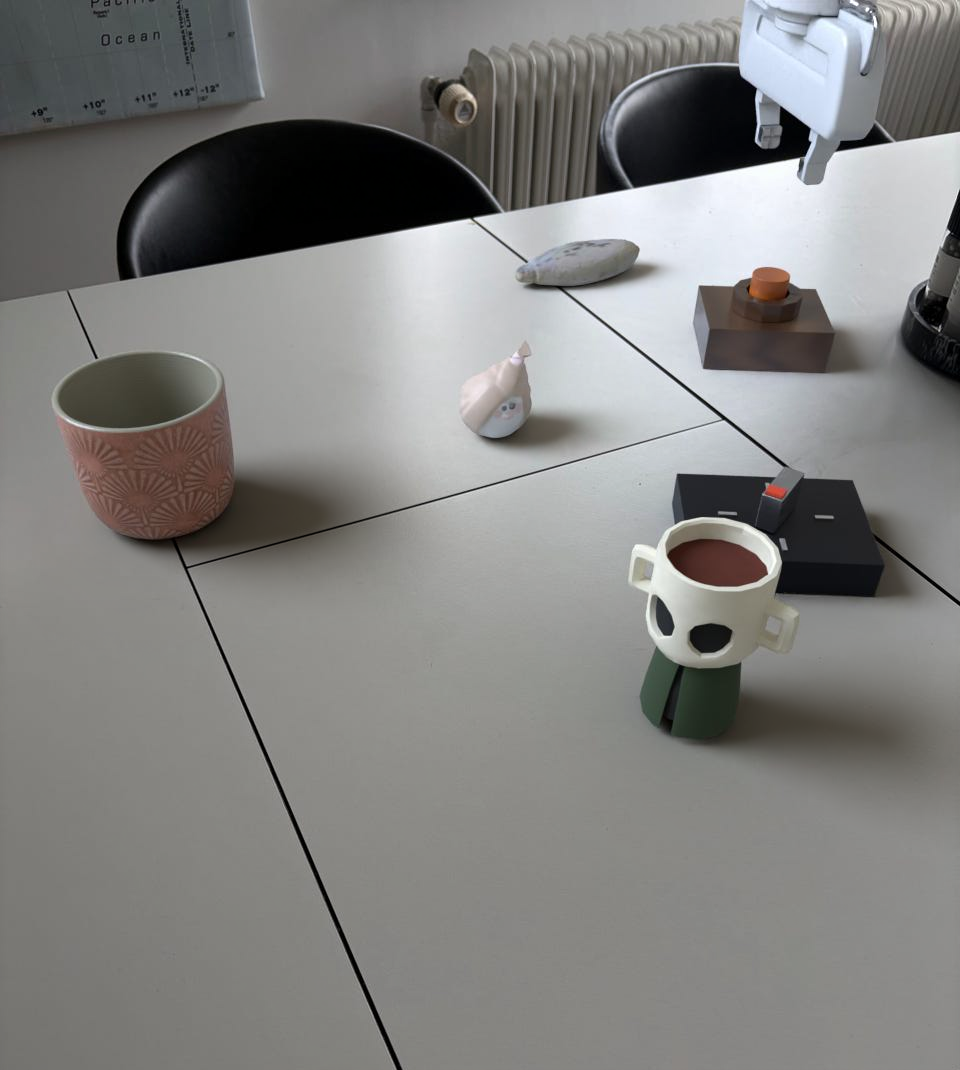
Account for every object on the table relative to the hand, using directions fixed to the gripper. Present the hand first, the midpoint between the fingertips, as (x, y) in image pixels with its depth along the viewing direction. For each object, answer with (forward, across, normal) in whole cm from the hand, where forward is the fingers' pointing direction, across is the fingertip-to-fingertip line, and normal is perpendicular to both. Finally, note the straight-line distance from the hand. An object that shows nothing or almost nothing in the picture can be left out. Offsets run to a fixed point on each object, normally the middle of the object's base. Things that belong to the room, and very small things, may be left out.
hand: (786, 163), depth 91 cm
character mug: (+19, -45, +22) cm, 53 cm away
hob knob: (+16, -29, +10) cm, 35 cm away
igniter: (+19, +3, -2) cm, 19 cm away
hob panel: (+19, -29, +10) cm, 36 cm away
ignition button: (+13, +3, -2) cm, 14 cm away
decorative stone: (+19, +22, +12) cm, 32 cm away
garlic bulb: (+19, -9, +27) cm, 34 cm away
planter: (+19, -16, +56) cm, 61 cm away
